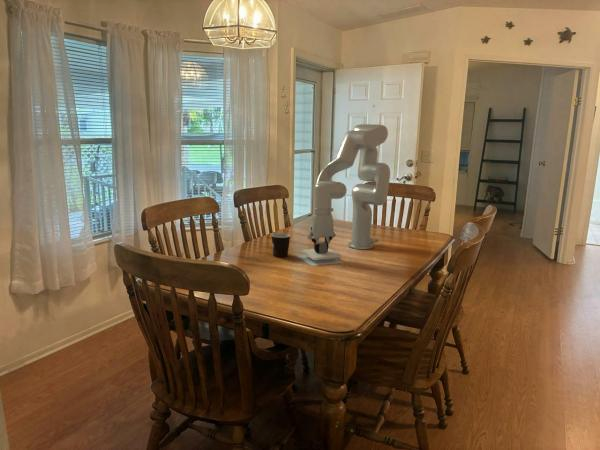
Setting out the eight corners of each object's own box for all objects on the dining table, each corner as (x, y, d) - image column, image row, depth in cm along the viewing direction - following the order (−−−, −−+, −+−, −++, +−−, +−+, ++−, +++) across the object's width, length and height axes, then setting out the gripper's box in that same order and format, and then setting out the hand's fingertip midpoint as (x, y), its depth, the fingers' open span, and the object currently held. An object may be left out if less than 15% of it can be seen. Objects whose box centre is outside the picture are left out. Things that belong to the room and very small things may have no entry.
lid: (327, 249, 208) (327, 237, 206) (340, 257, 196) (341, 245, 195) (301, 252, 202) (302, 240, 201) (314, 260, 191) (314, 248, 190)
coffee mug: (287, 260, 198) (288, 238, 196) (268, 258, 200) (269, 236, 198) (293, 253, 209) (293, 232, 207) (275, 251, 211) (275, 231, 209)
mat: (327, 253, 210) (328, 252, 210) (344, 263, 195) (344, 262, 195) (296, 256, 203) (296, 255, 203) (311, 267, 189) (311, 265, 189)
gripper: (335, 208, 201) (333, 247, 205) (301, 211, 195) (300, 251, 199) (343, 211, 195) (341, 252, 199) (308, 214, 188) (307, 256, 192)
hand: (321, 251), depth 199 cm, fingers closed on lid, 3 cm apart
